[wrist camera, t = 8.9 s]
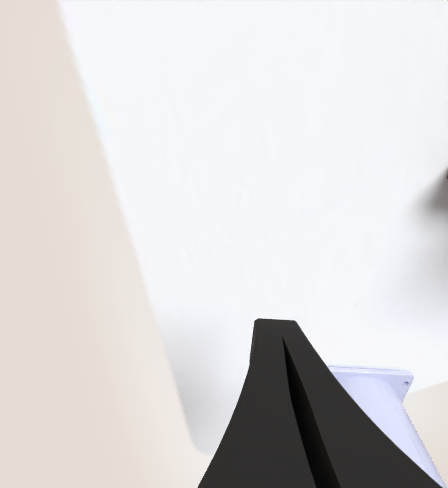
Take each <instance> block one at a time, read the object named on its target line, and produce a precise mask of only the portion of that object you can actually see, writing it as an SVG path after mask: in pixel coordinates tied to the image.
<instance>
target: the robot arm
mask: <svg viewBox="0 0 448 488" xmlns="http://www.w3.org/2000/svg"><path fill="white" fill-rule="evenodd" d="M413 378H414V377H413V375H412V374H411V373H410V372H408V371H392V370H375V369H357V368H340V367H327V366H326V364H325V363H324V362H323V360H322V359H321V358H320V356H319V355H318V353H317V352H316V351H315V349H314V348H313V346H312V345H311V343H310V342H309V340H308V339H307V337H306V336H305V334H304V333H303V331H302V330H301V328H300V327H299V325H298V324H297V322H296V321H294V320H276V319H259V318H258V319H257V320H255V321H254V329H253V337H252V345H251V353H250V365H249V369H248V373H247V376H246V379H245V382H244V385H243V388H242V391H241V394H240V397H239V400H238V402H237V405H236V408H235V410H234V413H233V415H232V418H231V420H230V422H229V425H228V427H227V429H226V431H225V434H224V436H223V438H222V440H221V443H220V445H219V447H218V449H217V451H216V453H215V455H214V457H213V459H212V461H211V463H210V465H209V467H208V469H207V471H206V472H205V474H204V476H203V478H202V480H201V482H200V484H199V486H198V488H447V487H446V485H445V483H444V482H443V480H442V478H441V476H440V474H439V472H438V471H437V469H436V467H435V465H434V463H433V461H432V459H431V457H430V455H429V454H428V452H427V450H426V448H425V446H424V444H423V442H422V440H421V439H420V437H419V435H418V433H417V431H416V429H415V428H414V425H413V424H412V422H411V420H410V418H409V416H408V414H407V412H406V410H405V409H404V407H403V405H402V402H403V400H404V398H405V396H406V394H407V392H408V390H409V387H410V385H411V383H412V381H413Z"/></svg>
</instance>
